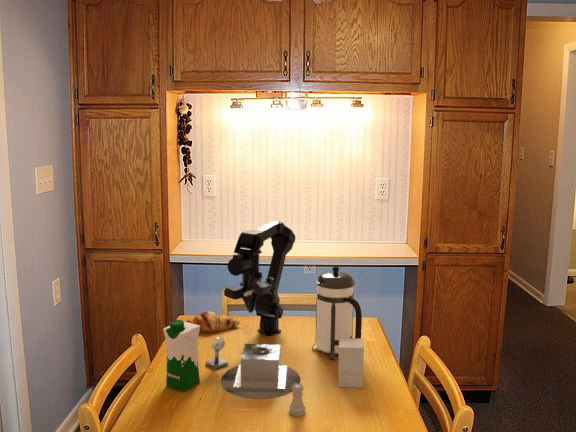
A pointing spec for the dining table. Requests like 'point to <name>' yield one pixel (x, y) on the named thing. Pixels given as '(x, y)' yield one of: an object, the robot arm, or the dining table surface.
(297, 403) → the rook chess piece
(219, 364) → the rubber stamp
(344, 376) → the supplement box
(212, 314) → the croissant
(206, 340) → the dining table surface
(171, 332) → the milk carton
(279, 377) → the cover
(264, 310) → the robot arm
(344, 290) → the coffee press
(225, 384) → the platter
